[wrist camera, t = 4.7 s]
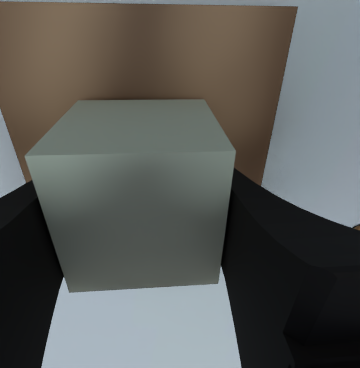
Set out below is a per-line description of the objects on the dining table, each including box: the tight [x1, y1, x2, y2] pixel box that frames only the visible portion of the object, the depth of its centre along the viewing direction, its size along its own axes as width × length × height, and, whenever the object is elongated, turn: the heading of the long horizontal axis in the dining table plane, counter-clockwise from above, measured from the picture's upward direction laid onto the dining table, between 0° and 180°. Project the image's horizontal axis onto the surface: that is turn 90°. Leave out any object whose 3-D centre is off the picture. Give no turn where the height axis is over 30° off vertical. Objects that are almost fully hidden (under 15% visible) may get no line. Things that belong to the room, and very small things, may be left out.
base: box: [0, 1, 298, 186], centre depth 14 cm, size 12×12×2 cm
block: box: [25, 99, 236, 293], centre depth 10 cm, size 5×5×5 cm
